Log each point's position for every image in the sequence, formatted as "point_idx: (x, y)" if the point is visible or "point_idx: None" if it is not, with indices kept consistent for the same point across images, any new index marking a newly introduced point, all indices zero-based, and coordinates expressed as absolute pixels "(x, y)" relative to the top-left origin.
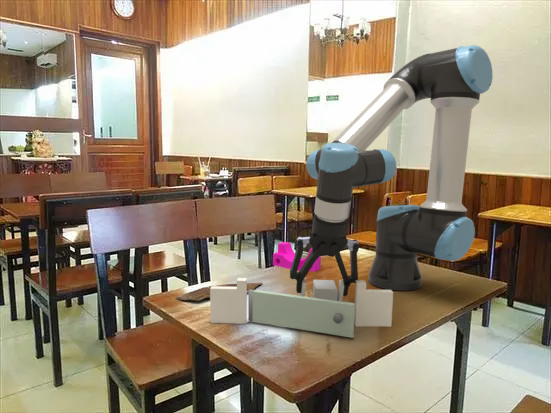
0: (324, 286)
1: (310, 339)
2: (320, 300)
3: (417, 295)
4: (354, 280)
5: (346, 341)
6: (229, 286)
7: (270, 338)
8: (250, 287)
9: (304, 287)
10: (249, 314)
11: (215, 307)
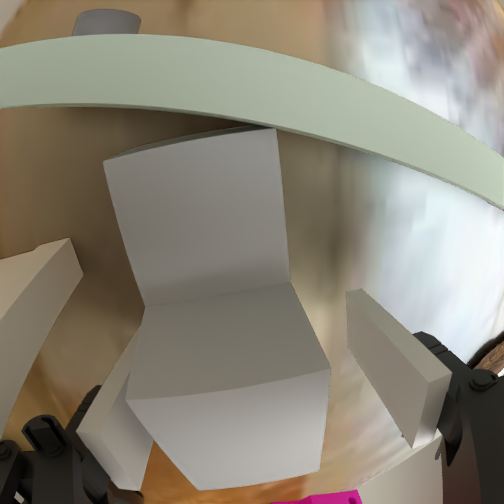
0: (247, 429)
1: (277, 35)
2: (275, 58)
3: (22, 447)
4: (4, 457)
5: None
6: None
7: (433, 51)
8: None
9: (414, 357)
10: None
11: None
